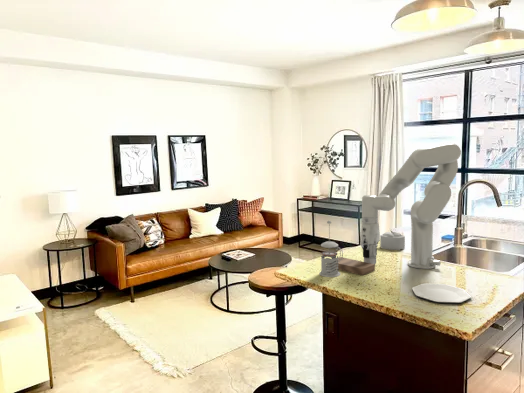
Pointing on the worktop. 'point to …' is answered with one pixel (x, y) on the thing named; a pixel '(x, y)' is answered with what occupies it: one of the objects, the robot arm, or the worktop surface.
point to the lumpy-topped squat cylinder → (392, 241)
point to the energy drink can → (371, 253)
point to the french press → (325, 265)
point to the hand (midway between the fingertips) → (369, 255)
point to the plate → (441, 293)
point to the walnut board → (355, 266)
